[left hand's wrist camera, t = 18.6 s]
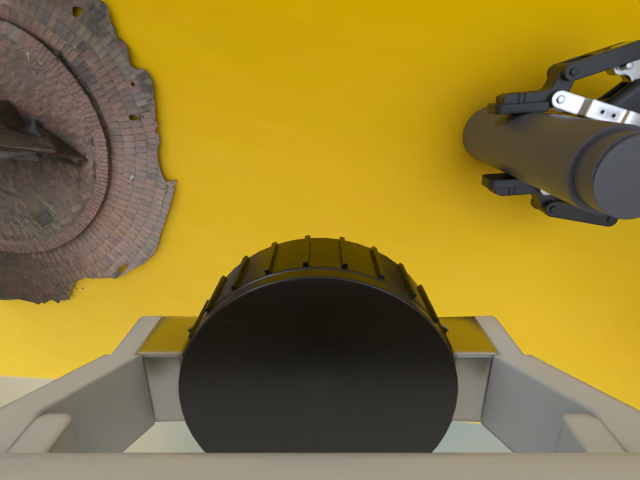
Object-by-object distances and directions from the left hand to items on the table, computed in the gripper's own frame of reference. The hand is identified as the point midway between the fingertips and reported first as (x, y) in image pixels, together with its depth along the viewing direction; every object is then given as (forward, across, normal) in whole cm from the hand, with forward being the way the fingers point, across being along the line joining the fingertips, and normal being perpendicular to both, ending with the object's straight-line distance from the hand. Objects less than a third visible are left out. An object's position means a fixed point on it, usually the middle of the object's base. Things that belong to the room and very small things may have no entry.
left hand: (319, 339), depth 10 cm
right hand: (+23, +13, +1) cm, 27 cm away
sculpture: (+30, -30, +2) cm, 42 cm away
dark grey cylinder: (+30, +16, +2) cm, 34 cm away
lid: (-2, 0, 0) cm, 2 cm away
